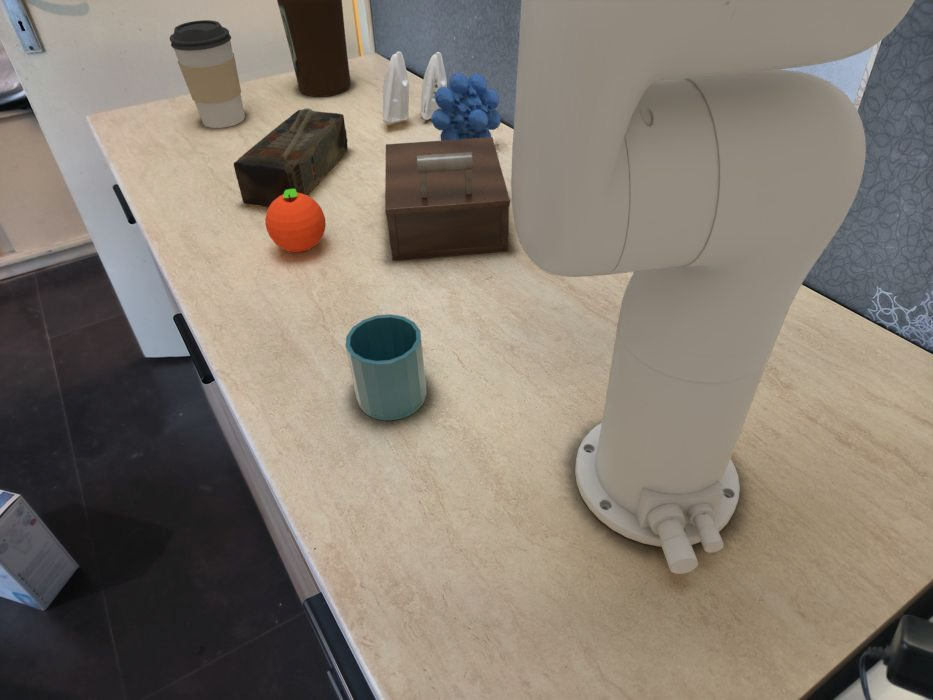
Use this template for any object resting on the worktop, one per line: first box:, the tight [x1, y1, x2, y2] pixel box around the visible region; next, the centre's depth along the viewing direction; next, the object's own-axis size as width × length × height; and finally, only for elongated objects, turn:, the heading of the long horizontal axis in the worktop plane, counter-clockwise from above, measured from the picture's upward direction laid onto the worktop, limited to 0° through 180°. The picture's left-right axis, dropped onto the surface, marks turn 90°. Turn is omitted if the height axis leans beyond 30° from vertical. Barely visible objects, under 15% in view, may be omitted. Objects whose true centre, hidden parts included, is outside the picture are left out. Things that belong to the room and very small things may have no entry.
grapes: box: [430, 72, 502, 141], centre depth 92 cm, size 12×7×12 cm, turn 125°
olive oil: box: [276, 0, 351, 97], centre depth 111 cm, size 11×11×25 cm
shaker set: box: [382, 51, 448, 126], centre depth 103 cm, size 12×4×11 cm, turn 119°
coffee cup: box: [169, 19, 246, 129], centre depth 104 cm, size 9×9×15 cm
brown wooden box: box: [386, 206, 510, 261], centre depth 81 cm, size 16×14×6 cm
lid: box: [384, 136, 511, 217], centre depth 76 cm, size 17×14×6 cm
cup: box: [345, 313, 428, 422], centre depth 58 cm, size 6×6×7 cm
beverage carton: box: [233, 107, 349, 208], centre depth 91 cm, size 8×19×7 cm, turn 165°
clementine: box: [264, 189, 327, 253], centre depth 77 cm, size 8×7×7 cm
